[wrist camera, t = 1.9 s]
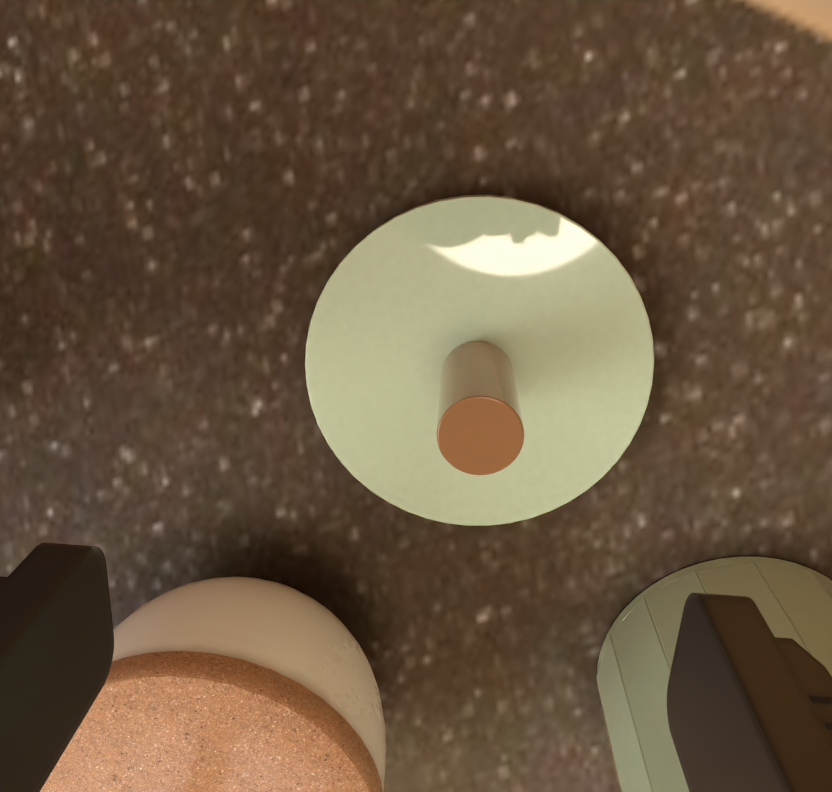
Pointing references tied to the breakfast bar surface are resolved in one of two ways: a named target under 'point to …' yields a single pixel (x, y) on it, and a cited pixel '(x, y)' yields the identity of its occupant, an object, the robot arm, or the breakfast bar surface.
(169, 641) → the lidded bowl
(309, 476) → the breakfast bar surface
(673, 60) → the breakfast bar surface
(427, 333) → the canister lid
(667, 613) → the canister
